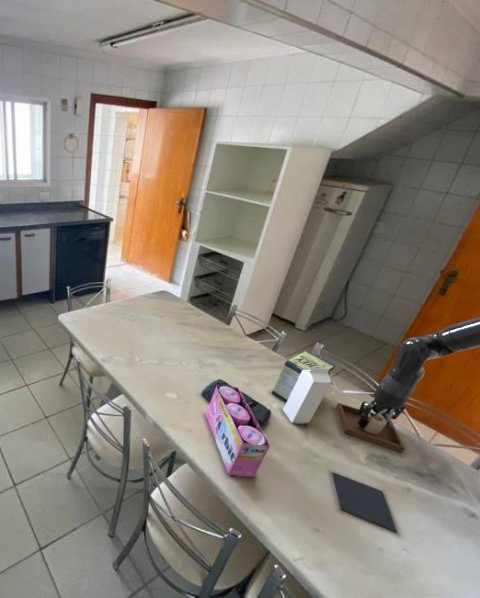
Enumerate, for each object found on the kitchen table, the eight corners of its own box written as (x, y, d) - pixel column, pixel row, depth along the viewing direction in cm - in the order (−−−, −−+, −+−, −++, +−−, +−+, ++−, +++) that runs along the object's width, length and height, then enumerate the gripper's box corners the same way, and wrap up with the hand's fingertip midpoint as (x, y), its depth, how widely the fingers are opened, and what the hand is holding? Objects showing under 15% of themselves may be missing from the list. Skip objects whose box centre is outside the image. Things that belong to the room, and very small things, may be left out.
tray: (386, 425, 116) (390, 419, 115) (400, 454, 105) (405, 448, 104) (334, 408, 122) (338, 402, 120) (342, 434, 111) (346, 428, 109)
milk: (282, 410, 119) (305, 361, 109) (298, 411, 119) (323, 362, 109) (292, 423, 114) (317, 373, 104) (309, 424, 114) (335, 374, 104)
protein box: (318, 397, 127) (336, 365, 120) (298, 411, 119) (315, 378, 112) (291, 380, 134) (306, 349, 127) (270, 393, 127) (285, 361, 120)
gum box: (203, 412, 115) (213, 382, 109) (226, 413, 115) (237, 384, 109) (228, 475, 94) (242, 443, 88) (255, 477, 94) (272, 445, 88)
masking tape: (376, 424, 115) (384, 414, 113) (382, 437, 110) (389, 426, 108) (356, 418, 117) (363, 407, 115) (360, 430, 112) (367, 419, 110)
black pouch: (220, 380, 132) (223, 370, 129) (274, 416, 116) (279, 406, 114) (196, 394, 123) (199, 384, 121) (252, 435, 108) (257, 425, 106)
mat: (381, 492, 93) (382, 491, 93) (396, 532, 83) (397, 531, 83) (332, 473, 97) (332, 472, 97) (340, 509, 88) (341, 508, 87)
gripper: (385, 398, 102) (359, 435, 109) (426, 398, 103) (398, 435, 111) (364, 381, 108) (342, 417, 116) (403, 381, 110) (379, 417, 117)
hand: (369, 426), depth 113 cm, fingers closed on masking tape, 6 cm apart
